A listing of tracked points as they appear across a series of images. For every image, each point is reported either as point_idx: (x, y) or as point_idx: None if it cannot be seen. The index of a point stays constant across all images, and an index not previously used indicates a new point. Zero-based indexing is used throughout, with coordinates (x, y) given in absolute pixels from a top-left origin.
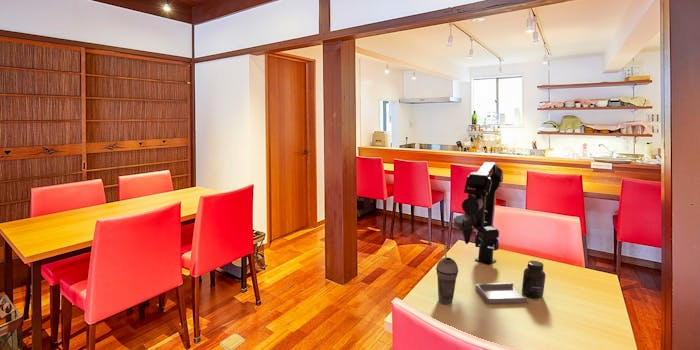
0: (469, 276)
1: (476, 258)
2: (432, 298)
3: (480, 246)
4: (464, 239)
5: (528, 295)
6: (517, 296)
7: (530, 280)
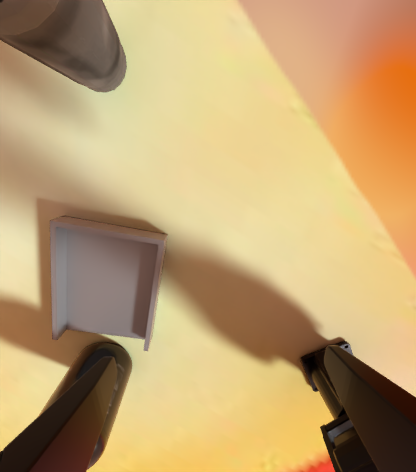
0: (254, 264)
1: (349, 349)
2: (129, 8)
3: (57, 421)
4: (375, 372)
5: (86, 349)
6: (95, 322)
7: (52, 401)
